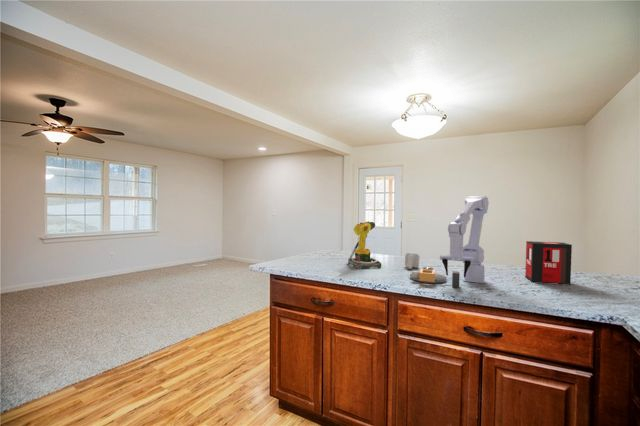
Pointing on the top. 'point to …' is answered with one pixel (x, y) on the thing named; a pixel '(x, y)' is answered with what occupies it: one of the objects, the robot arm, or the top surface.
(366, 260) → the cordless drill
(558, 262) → the cleaning product box
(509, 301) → the top surface
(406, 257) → the grey rounded block
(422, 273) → the bracket
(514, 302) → the top surface
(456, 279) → the wedge
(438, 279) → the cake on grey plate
